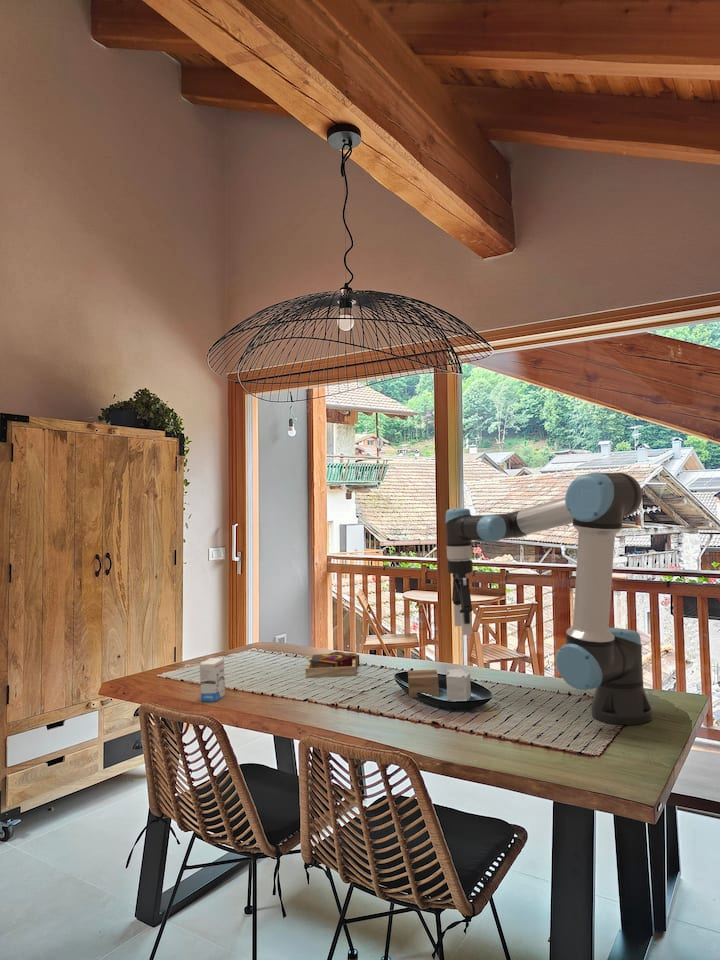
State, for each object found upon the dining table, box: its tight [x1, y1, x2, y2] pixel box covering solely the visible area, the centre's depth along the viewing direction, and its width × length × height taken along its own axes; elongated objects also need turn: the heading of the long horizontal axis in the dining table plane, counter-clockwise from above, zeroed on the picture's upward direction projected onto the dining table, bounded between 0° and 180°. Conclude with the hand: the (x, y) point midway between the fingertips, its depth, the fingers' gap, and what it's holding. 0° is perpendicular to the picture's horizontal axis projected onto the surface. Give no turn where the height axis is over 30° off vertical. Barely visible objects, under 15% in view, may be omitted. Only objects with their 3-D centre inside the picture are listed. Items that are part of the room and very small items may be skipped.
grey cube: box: [445, 668, 467, 681], centre depth 219 cm, size 5×5×5 cm
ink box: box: [199, 657, 226, 703], centre depth 218 cm, size 9×5×12 cm, turn 168°
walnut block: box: [407, 669, 440, 698], centre depth 214 cm, size 9×9×6 cm
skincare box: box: [446, 671, 472, 702], centre depth 206 cm, size 6×6×7 cm
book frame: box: [305, 652, 357, 679], centre depth 249 cm, size 22×17×3 cm
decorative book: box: [310, 651, 360, 668], centre depth 249 cm, size 11×16×5 cm
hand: (462, 630), depth 209 cm, fingers open, 13 cm apart
